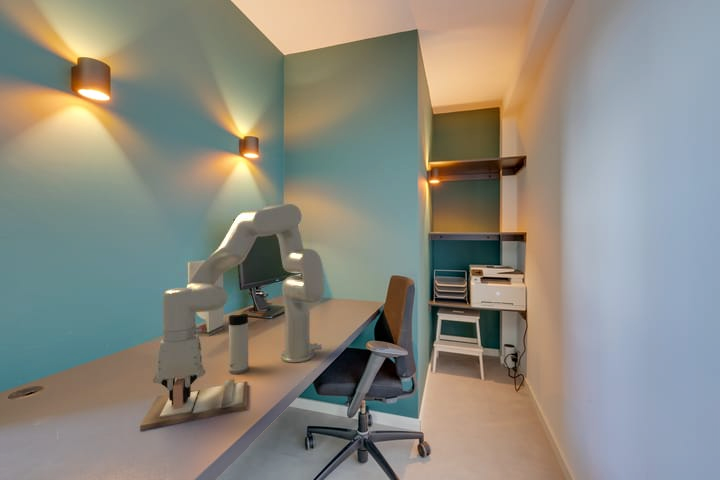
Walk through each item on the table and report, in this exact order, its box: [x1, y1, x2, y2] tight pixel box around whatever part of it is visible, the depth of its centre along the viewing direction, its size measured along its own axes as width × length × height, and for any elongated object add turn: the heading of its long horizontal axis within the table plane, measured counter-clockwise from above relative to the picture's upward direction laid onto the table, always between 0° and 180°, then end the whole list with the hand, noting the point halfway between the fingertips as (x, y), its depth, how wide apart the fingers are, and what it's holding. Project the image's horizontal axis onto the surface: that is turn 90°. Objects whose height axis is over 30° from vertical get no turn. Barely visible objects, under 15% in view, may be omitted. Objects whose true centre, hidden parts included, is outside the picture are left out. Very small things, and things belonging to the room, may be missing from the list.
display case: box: [187, 260, 224, 337], centre depth 144 cm, size 11×11×35 cm
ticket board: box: [139, 378, 249, 431], centre depth 81 cm, size 24×14×3 cm, turn 110°
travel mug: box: [228, 313, 249, 375], centre depth 102 cm, size 6×7×20 cm
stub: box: [160, 377, 198, 417], centre depth 79 cm, size 7×10×6 cm
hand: (180, 400), depth 79 cm, fingers closed on stub, 2 cm apart
